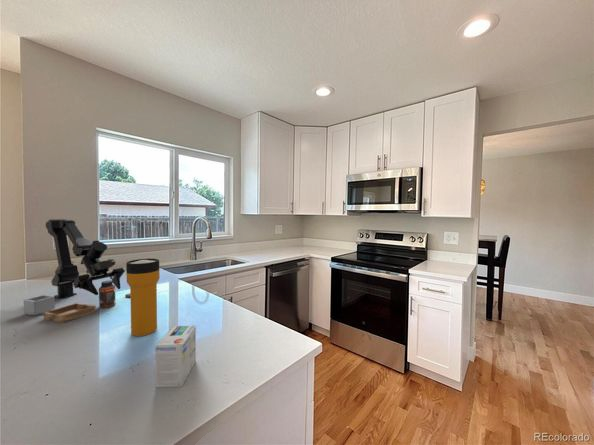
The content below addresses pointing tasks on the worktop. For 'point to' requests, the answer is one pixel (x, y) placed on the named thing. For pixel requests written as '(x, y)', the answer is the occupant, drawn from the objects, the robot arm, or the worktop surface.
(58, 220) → the robot arm
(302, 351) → the worktop surface
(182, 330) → the light bulb box
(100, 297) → the supplement bottle
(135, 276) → the flashlight
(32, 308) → the grey open square bin
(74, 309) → the tray
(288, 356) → the worktop surface
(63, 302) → the worktop surface
